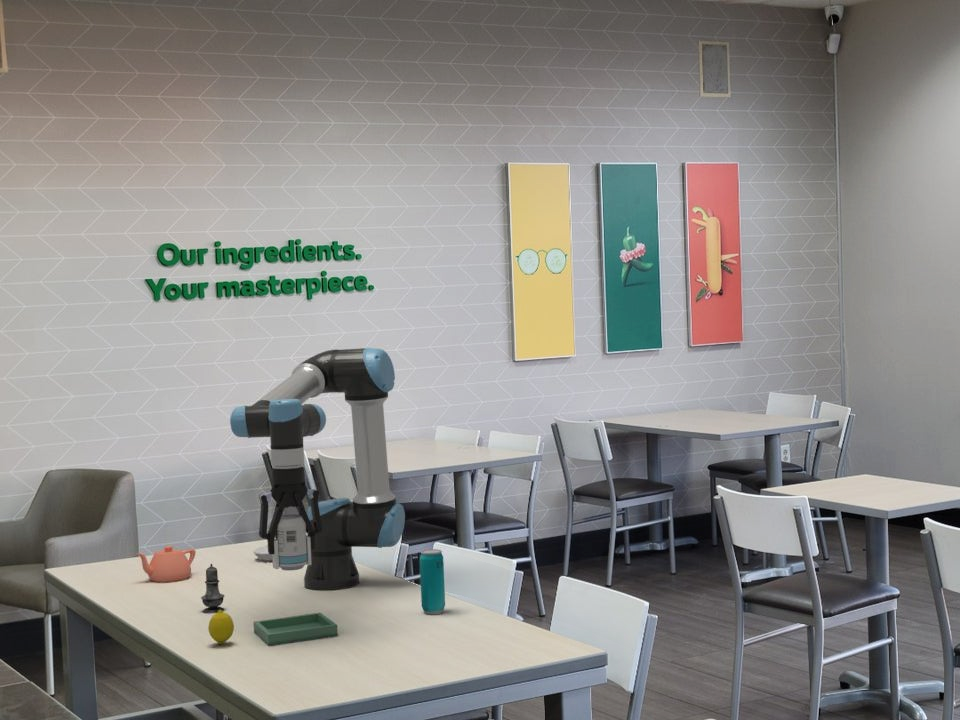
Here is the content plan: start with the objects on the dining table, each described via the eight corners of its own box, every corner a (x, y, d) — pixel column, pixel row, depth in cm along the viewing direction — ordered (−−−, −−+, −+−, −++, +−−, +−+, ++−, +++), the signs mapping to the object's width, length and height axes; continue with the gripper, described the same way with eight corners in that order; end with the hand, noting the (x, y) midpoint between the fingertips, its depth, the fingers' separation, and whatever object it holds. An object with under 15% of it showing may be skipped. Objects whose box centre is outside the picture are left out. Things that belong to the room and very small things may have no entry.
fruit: (222, 648, 262) (220, 613, 262) (204, 646, 265) (202, 610, 265) (239, 642, 267) (238, 607, 267) (221, 640, 270) (220, 605, 270)
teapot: (205, 577, 343) (203, 544, 343) (145, 587, 332) (144, 553, 332) (187, 571, 353) (185, 539, 353) (128, 581, 342) (127, 548, 341)
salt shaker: (219, 613, 297) (217, 565, 296) (197, 613, 298) (195, 565, 297) (229, 607, 302) (226, 561, 302) (207, 607, 304) (205, 561, 303)
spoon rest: (261, 565, 358) (260, 542, 358) (249, 560, 369) (247, 537, 368) (334, 555, 370) (333, 532, 370) (320, 550, 380) (319, 528, 380)
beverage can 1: (312, 565, 275) (310, 514, 274) (298, 571, 268) (296, 519, 268) (286, 564, 277) (283, 513, 277) (271, 571, 270) (269, 518, 270)
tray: (320, 622, 282) (320, 612, 282) (337, 635, 270) (337, 625, 270) (254, 632, 276) (253, 621, 276) (268, 645, 263) (267, 634, 263)
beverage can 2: (449, 610, 290) (447, 549, 290) (438, 615, 285) (436, 553, 284) (428, 608, 292) (426, 548, 292) (417, 614, 287) (415, 552, 287)
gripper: (325, 461, 279) (329, 558, 280) (241, 468, 271) (245, 568, 272) (334, 464, 272) (338, 563, 273) (248, 471, 264) (253, 574, 265)
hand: (292, 565), depth 272 cm, fingers closed on beverage can 1, 7 cm apart
